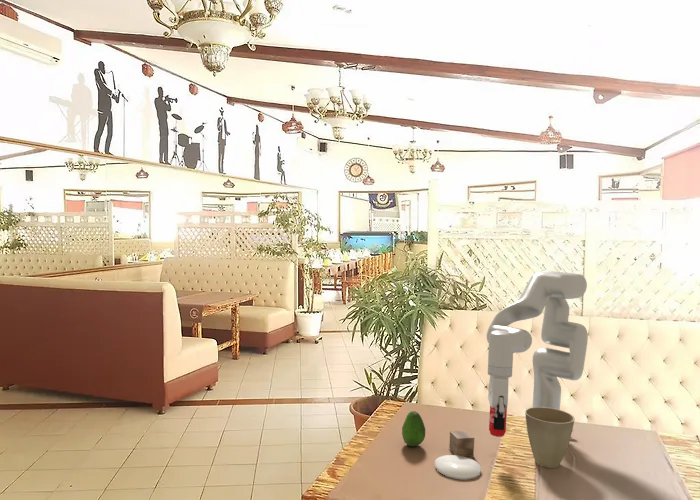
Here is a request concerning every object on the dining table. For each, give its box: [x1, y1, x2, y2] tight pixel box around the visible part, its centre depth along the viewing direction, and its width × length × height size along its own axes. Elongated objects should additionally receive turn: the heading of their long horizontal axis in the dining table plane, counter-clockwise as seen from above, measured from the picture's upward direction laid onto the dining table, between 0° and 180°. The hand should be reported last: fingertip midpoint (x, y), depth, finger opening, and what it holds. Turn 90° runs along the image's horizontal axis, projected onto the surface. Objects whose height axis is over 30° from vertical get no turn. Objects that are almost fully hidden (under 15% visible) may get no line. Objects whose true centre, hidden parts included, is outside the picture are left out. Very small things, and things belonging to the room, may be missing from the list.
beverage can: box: [488, 404, 508, 438], centre depth 170 cm, size 5×5×12 cm
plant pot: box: [524, 406, 576, 469], centre depth 172 cm, size 15×15×16 cm
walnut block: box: [448, 430, 475, 457], centre depth 178 cm, size 6×6×6 cm
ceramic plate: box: [434, 454, 482, 481], centre depth 165 cm, size 14×14×1 cm
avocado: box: [401, 410, 426, 447], centre depth 181 cm, size 8×8×12 cm
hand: (497, 425), depth 170 cm, fingers closed on beverage can, 5 cm apart
